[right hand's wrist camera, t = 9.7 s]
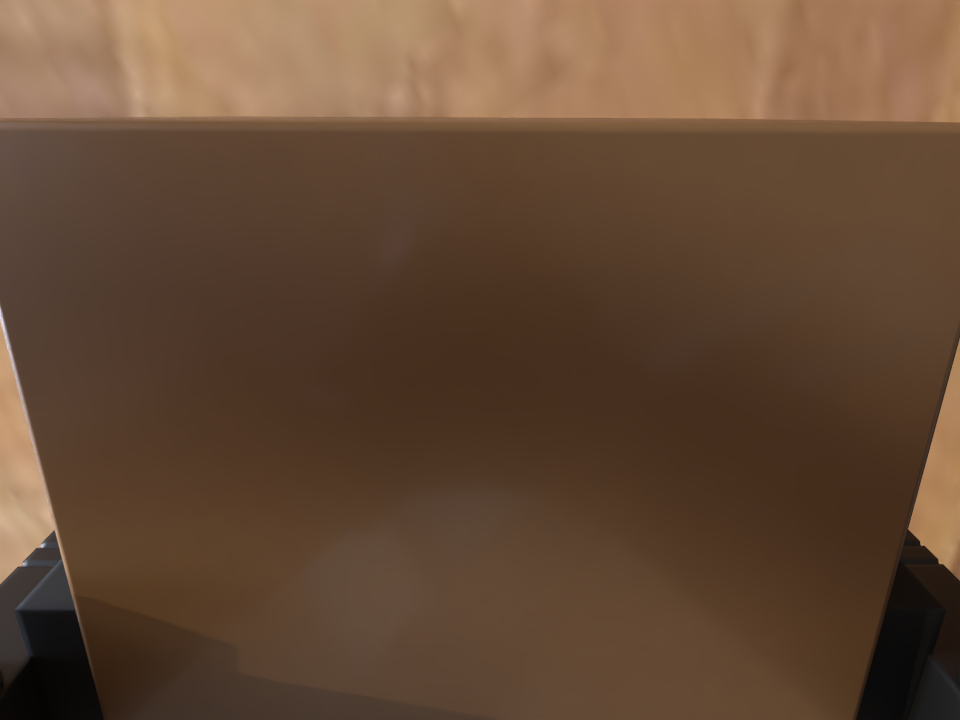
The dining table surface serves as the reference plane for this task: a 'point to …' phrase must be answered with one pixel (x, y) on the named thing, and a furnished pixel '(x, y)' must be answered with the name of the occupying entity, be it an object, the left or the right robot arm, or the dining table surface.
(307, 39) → the dining table surface
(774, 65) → the dining table surface
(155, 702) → the wooden beam
